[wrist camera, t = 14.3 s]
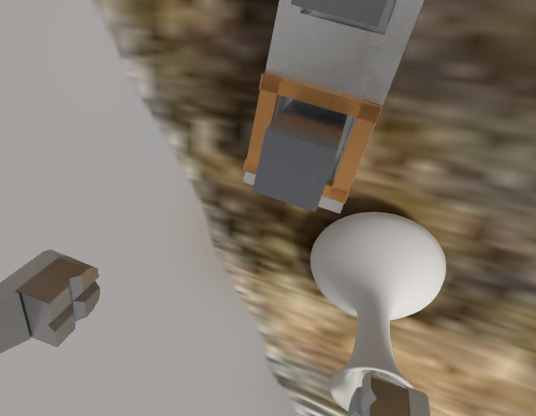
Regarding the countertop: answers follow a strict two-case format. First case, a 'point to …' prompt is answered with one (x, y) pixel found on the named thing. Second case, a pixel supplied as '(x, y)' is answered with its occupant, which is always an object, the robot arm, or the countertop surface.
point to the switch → (347, 9)
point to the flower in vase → (375, 286)
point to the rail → (332, 79)
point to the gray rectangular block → (299, 154)
